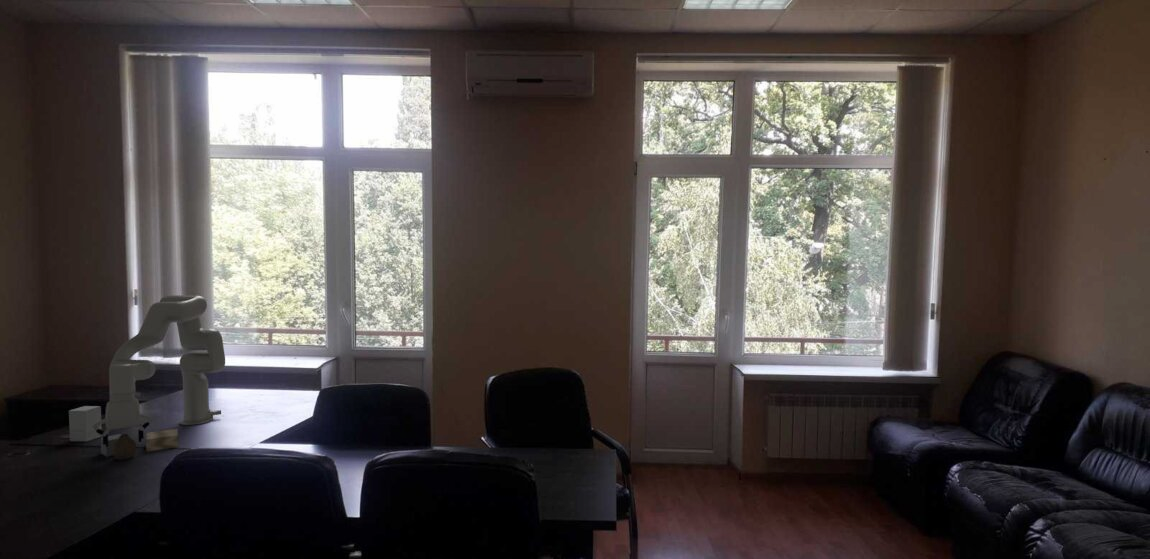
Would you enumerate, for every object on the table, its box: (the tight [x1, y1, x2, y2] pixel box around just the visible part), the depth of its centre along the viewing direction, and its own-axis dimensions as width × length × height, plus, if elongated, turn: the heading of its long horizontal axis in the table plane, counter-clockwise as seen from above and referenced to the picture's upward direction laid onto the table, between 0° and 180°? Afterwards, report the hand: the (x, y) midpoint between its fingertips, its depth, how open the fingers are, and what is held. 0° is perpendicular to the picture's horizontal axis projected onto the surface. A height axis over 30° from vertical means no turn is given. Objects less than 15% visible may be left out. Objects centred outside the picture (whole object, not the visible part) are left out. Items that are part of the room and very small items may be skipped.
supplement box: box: [68, 405, 103, 442], centre depth 235 cm, size 7×7×13 cm
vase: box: [112, 433, 137, 461], centre depth 213 cm, size 7×7×9 cm
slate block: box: [100, 433, 122, 457], centre depth 219 cm, size 6×6×6 cm
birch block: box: [145, 428, 179, 453], centre depth 227 cm, size 10×10×5 cm
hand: (123, 443), depth 212 cm, fingers open, 9 cm apart
